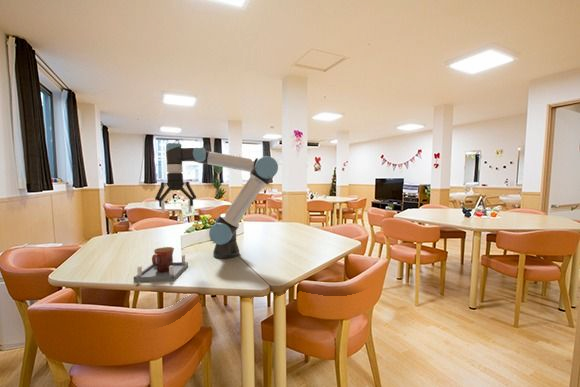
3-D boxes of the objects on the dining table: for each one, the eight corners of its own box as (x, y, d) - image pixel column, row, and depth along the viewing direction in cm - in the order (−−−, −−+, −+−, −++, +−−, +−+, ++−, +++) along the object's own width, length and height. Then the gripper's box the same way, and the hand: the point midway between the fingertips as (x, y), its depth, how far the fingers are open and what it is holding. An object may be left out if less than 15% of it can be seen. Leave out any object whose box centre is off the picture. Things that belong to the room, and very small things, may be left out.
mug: (162, 266, 132) (162, 246, 131) (178, 267, 130) (177, 247, 129) (145, 275, 120) (144, 253, 119) (161, 276, 118) (161, 254, 118)
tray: (188, 265, 135) (187, 254, 135) (173, 280, 116) (173, 267, 115) (154, 266, 134) (153, 255, 134) (133, 281, 114) (133, 268, 114)
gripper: (200, 172, 143) (202, 211, 145) (152, 173, 140) (154, 212, 141) (198, 172, 136) (199, 212, 137) (146, 173, 132) (149, 214, 134)
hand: (176, 212), depth 139 cm, fingers open, 13 cm apart
